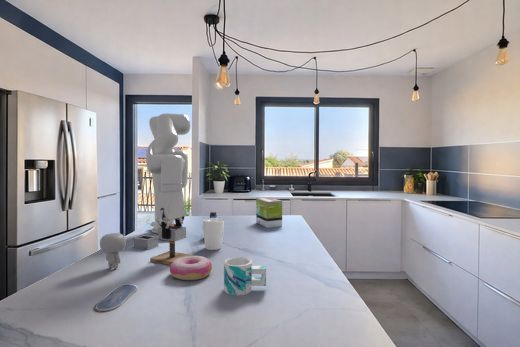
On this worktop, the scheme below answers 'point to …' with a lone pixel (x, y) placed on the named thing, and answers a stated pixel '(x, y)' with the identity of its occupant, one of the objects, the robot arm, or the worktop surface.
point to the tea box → (269, 212)
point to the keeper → (168, 255)
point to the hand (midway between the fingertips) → (172, 236)
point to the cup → (213, 233)
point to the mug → (242, 276)
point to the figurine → (113, 248)
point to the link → (174, 233)
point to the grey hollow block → (145, 242)
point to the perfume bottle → (213, 215)
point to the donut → (190, 268)
